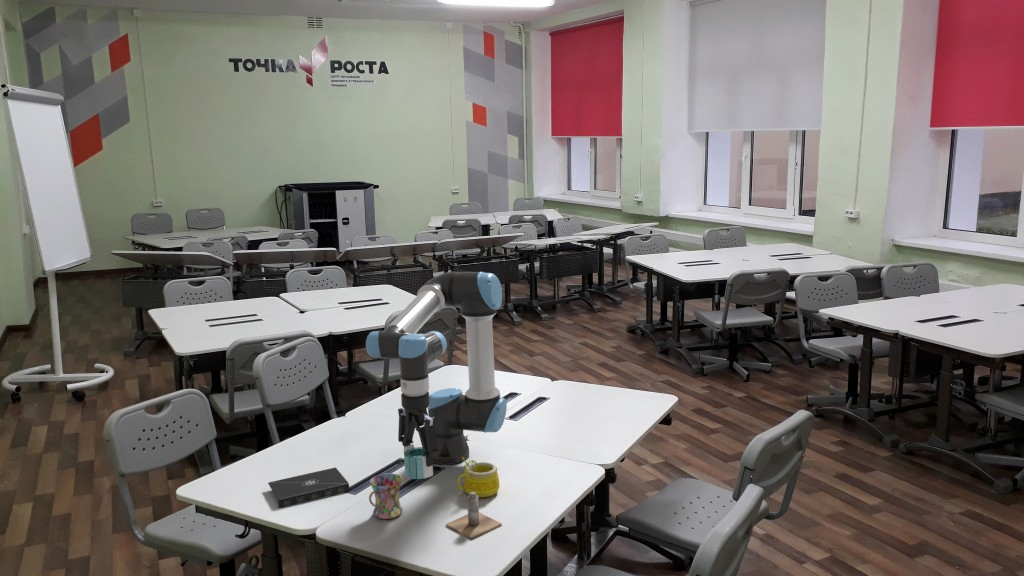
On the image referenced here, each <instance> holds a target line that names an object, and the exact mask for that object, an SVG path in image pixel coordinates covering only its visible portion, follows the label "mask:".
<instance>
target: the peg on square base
mask: <svg viewBox="0 0 1024 576" xmlns="http://www.w3.org/2000/svg"><path fill="white" fill-rule="evenodd" d="M445 526H446V527H447V528H449V529H451V530H453V531H455V532H457V533H459V534H460V535H462V536H464V537H466V538H468V539H470V540H471V541H472V540H474V539H476V538H478V537H480V536H482V535H484V534H486V533H489V532H491V531H493V530H494V529H497V528H499V527H501V526H503V525H502V523H501V522H499V521H498V520H496V519H494V518H491V517H490V516H488V515H485V514H483V513H481V512H480V511H479V497H478V496H477V495H476V492H470V493H469V494H468V495H467V514H466V515H463V516H461V517H459V518H456V519H453V520H452V521H450V522H448V523H447V522H446V524H445Z"/></svg>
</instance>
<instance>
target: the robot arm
mask: <svg viewBox="0 0 1024 576" xmlns="http://www.w3.org/2000/svg"><path fill="white" fill-rule="evenodd" d="M502 299H503V290H502V285H501V282H500V280H499V278H498V277H497V275H495V273H491V272H484V271H448V272H444V273H440V274H439V275H437V276H434V277H433V278H430V279H429V280H428V281H426V282H425V283H424V284H423V285H422V286H421V287H420V288H419V289H418V291H417V293H416V296H415V298H414V299H413V300H412V301H410V302H409V304H408V305H407V306H406V307H405V308H403V310H402V311H401V312H400V313H399V314H398V315H397V316H396V317H395V318H394V319H393V320H392V321H391V323H390V324H388V326H387V327H385V329H384V330H383V331H381V330H375V331H371V332H369V334H368V335H367V336H366V339H365V349H366V352H367V355H368V356H369V357H371V358H377V359H385V360H386V359H387V360H388V359H389V360H399V362H398V363H399V377H400V378H399V379H400V392H401V394H400V399H401V407H400V408H397V409H398V410H397V412H398V434H397V435H398V438H397V440H398V442H399V443H401V445H402V446H403V453H404V452H405V451H406V450H408V449H411V448H415V444H414V442H415V441H414V440H413V439H414V434H415V431H416V432H418V436H419V440H420V443H421V447H422V448H423V451H424V454H423V455H422V461H423V479H427V478H430V477H433V475H434V468H433V467H434V464H436V465H454V464H458V463H462V462H465V461H466V460H467V459H468V458H469V457H470V448H469V445H468V441H467V439H466V437H465V434H464V431H469V432H470V431H473V432H479V433H480V432H481V433H486V434H487V433H497V432H499V431H500V430H501V429H502V427H503V425H504V422H505V419H506V415H507V406H508V402H507V400H506V398H504V397H501V392H500V390H499V388H497V387H496V381H495V379H496V378H495V375H496V373H495V358H494V357H495V355H494V354H495V353H494V333H493V332H494V329H493V328H494V327H493V317H494V316H495V315H496V314H497V310H499V309H500V308H501V306H502V303H503V301H502ZM444 308H459V309H460V316H461V317H463V318H464V319H465V331H466V332H465V333H466V349H467V350H466V352H467V367H468V368H467V369H468V389H467V390H466V391H465V392H464V393H465V394H463V390H462V388H461V389H460V388H457V387H450V388H444V389H439V390H437V391H434V392H433V393H431V394H430V392H429V390H430V378H429V364H431V363H432V362H435V360H438V359H440V358H441V356H442V355H444V353H445V352H446V350H447V349H448V342H447V340H446V337H445V335H443V333H441V332H439V331H436V330H433V331H428V332H426V333H418V332H419V331H420V330H421V329H422V327H423V326H424V325H425V324H426V323H427V321H429V320H430V318H431V317H432V316H433V315H434V314H436V313H438V312H440V311H442V310H443V309H444ZM427 450H428V451H427ZM462 457H464V460H465V461H464V460H462Z"/></svg>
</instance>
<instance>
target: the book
mask: <svg viewBox="0 0 1024 576" xmlns="http://www.w3.org/2000/svg"><path fill="white" fill-rule="evenodd" d="M267 484H268V485H269V488H270V490H271V491H272V493H273V494H275V495H274V496H275V497H276V499H277V501H278V503H277V504H278V509H282V508H286V507H290V506H293V505H298V504H302V503H306V502H310V501H315V500H318V499H319V500H320V499H323V498H327V497H331V496H336V495H339V494H344V493H348V492H351V491H350V483H349V482H348V480H347V479H346V478H345V477H344V476H343V474H342V473H341V472H340V470H339V469H338V468H337V467H335V466H334V467H331V468H327V469H322V470H318V471H314V472H313V471H312V472H309V473H305V474H304V473H303V474H300V475H295V476H292V477H291V476H290V477H287V478H282V479H277V480H273V481H269V482H268V483H267Z"/></svg>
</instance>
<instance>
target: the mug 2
mask: <svg viewBox="0 0 1024 576" xmlns="http://www.w3.org/2000/svg"><path fill="white" fill-rule="evenodd" d="M462 460H464V457H462ZM463 462H464V463H465V466H464V473H462V474H460V475H459V476H458V478H457V480H458V481H457V487H458V489H459V490H460V491H463V492H466V494H467V495H469V493H470V492H476V495H477V496H478V498H488V497H491V496H493V495H495V494H497V493H498V492H499V489H500V478H499V474H498V467H497V466H496V464H494V463H491V462H485V461H478V462H477V461H476V460H474V459H470V460H469V461H467V462H466V460H464V461H463ZM462 478H464V486H463V487H462V485H461V482H462V481H461V479H462Z"/></svg>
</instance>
